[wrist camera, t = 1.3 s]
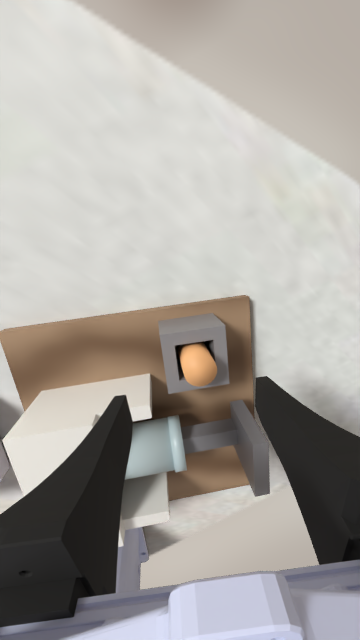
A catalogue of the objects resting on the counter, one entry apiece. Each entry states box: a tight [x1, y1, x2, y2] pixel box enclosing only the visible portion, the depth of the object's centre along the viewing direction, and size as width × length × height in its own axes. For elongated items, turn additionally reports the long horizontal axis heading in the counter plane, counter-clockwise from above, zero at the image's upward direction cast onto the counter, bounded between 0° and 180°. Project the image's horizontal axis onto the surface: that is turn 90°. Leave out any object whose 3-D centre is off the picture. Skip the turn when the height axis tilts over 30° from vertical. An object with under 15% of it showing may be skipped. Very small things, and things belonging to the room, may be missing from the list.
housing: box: [2, 313, 229, 547], centre depth 21 cm, size 17×16×6 cm
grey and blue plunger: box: [125, 400, 270, 497], centre depth 21 cm, size 5×17×7 cm, turn 97°
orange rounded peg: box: [178, 341, 217, 387], centre depth 19 cm, size 2×2×4 cm
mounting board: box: [0, 295, 254, 501], centre depth 25 cm, size 22×22×1 cm
